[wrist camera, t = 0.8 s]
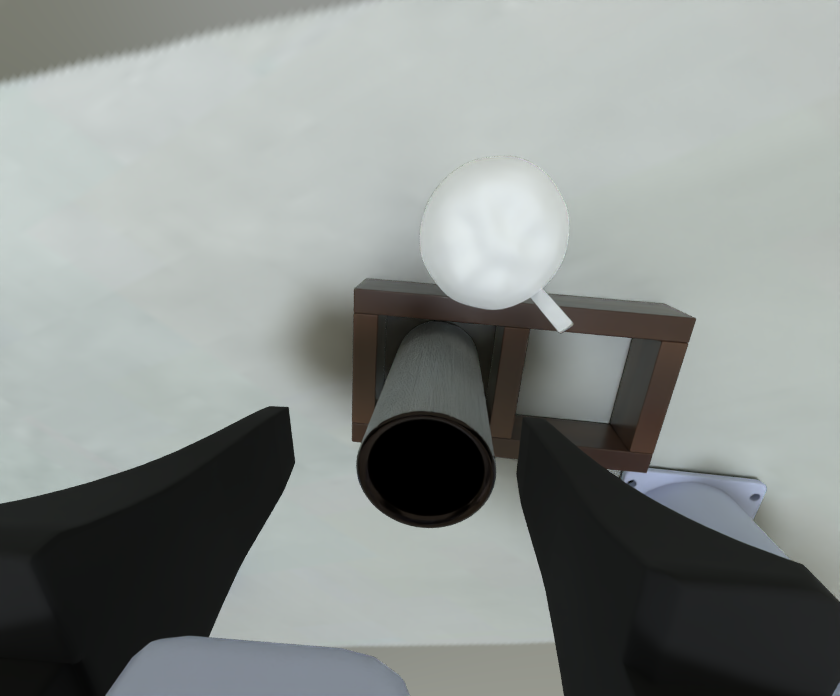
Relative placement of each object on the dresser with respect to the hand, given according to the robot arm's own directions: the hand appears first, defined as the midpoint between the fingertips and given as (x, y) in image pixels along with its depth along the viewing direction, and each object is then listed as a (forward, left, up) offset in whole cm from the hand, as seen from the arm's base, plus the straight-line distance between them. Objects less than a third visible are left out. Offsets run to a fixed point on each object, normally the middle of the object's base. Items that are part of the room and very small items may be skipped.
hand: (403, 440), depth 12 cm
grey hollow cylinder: (-1, -1, -11) cm, 11 cm away
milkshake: (+6, -2, -11) cm, 12 cm away
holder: (-1, -4, -11) cm, 11 cm away
